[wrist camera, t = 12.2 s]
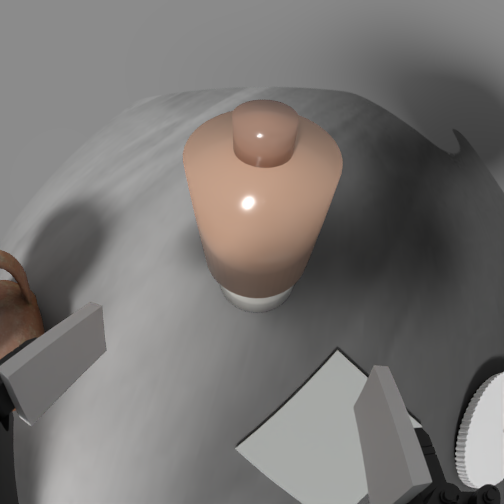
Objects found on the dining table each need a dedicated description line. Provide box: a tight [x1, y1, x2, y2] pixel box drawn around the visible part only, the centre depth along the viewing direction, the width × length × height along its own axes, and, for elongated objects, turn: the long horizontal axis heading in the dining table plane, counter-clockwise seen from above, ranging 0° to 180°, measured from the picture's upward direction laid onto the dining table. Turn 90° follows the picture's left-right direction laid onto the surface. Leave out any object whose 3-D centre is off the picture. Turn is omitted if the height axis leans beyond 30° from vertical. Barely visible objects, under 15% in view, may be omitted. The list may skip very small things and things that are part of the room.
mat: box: [235, 350, 422, 504], centre depth 18 cm, size 12×12×1 cm
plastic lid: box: [455, 372, 504, 488], centre depth 16 cm, size 14×14×2 cm
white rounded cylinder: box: [220, 285, 294, 313], centre depth 24 cm, size 7×7×5 cm
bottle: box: [183, 100, 343, 298], centre depth 17 cm, size 8×8×12 cm
